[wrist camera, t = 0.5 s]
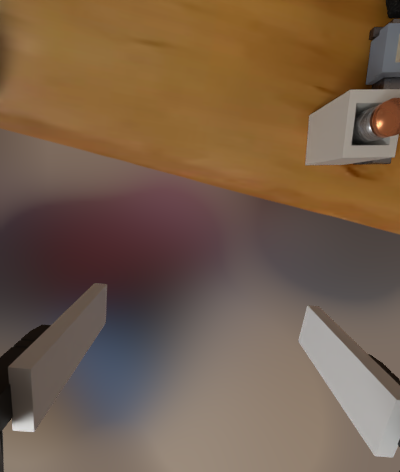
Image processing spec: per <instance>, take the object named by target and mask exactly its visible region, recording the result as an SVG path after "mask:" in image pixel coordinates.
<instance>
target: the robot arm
mask: <svg viewBox="0 0 400 472" xmlns="http://www.w3.org/2000/svg"><path fill="white" fill-rule="evenodd" d="M106 299H107V284H98V283H94V285H92V286H91V287H90V288H89V289H88V290H87V291H86V292H85V293H84V294H83V295H82V296H81V297H80V298H79V299H78V300H77V301H76V302H75V303H74V304H73V305H72V306H71V307H70V308H69V309H68V310H66V311H65V312H64V313H63V314H62V315H61V316H60V317H59V318H58V319H57V320H56V321H55V322H54V323H53V324H52V325H41V326H39V327H37V328H35V329H33V330H32V331H30V332H29V333H28V334H26V335H25V336H24V337H23V338H22V339H21V341H18V342H17V343H16V344H15V345H14V347H12V348H10V349H9V350H8V351H7V352H6V353H5V354H4V355H3V356H1V357H0V472H4V471H3V470H4V469H3V433H2V430H3V429H4V427H5V426H6V425H7V423H8V422H9V421H10V420H11V418H12V427H13V431H27V432H35V430H36V428H37V427H38V425H39V424H40V422H41V421H42V419H43V418H44V416H45V415H46V413H47V412H48V410H49V409H50V407H51V406H52V404H53V403H54V401H55V399H56V398H57V396H58V395H59V393H60V392H61V390H62V389H63V387H64V385H65V384H66V383H67V381H68V380H69V378H70V377H71V375H72V374H73V372H74V370H75V369H76V367H77V366H78V364H79V363H80V361H81V360H82V358H83V356H84V355H85V354H86V352H87V351H88V349H89V347H90V346H91V344H92V343H93V341H94V340H95V338H96V337H97V335H98V334H99V332H100V330H101V329H102V327H103V326H104V325H105V323H106ZM299 343H300V344H301V346H302V347H303V349H304V351H305V352H306V354H307V355H308V357H309V358H310V359H311V361H312V362H313V364H314V366H315V367H316V368H317V370H318V372H319V373H320V374H321V376H322V378H323V379H324V381H325V382H326V384H327V385H328V387H329V388H330V390H331V391H332V393H333V394H334V395H335V397H336V399H337V400H338V402H339V403H340V404H341V406H342V408H343V409H344V411H345V412H346V414H347V415H348V417H349V418H350V420H351V421H352V423H353V424H354V426H355V427H356V428H357V430H358V432H359V433H360V435H361V436H362V438H363V439H364V441H365V442H366V444H367V445H368V447H369V448H370V450H371V451H372V453H373V454H374V455H375V456H380V457H393V456H394V454H395V452H396V449H397V447H398V445H399V447H400V380H399V378H398V377H396V376H395V375H394V374H393V373H391V371H390V370H389V369H388V368H387V367H386V366H385V365H384V364H383V363H382V362H380V361H379V360H377V359H376V358H374V357H373V356H371V355H369V354H367V353H366V352H365V351H364V350H363V349H362V348H361V347H360V346H359V345H357V343H356V342H355V341H354V340H353V339H352V338H351V337H349V336H348V335H347V334H346V333H345V332H344V331H343V330H342V329H341V328H340V327H339V326H338V325H337V324H336V323H335V322H334V321H333V320H332V319H331V318H330V317H329V316H328V315H327V314H326V313H325V312H324V311H323V310H322V309H321V308H320V307H319V306H310V305H308V306H307V309H306V314H305V317H304V321H303V325H302V329H301V333H300V337H299ZM399 472H400V471H399Z"/></svg>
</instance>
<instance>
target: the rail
mask: <svg viewBox="0 0 400 472" xmlns="http://www.w3.org/2000/svg"><path fill="white" fill-rule="evenodd" d="M389 23H400V19H393V20H392V21H391V22H389ZM389 23H388V24H389ZM383 28H384V27H374V28H373V29H372V30H371V31H370V36H369V40H374V39H375V38H376V37H378V36H379V34H380V30H381V29H383ZM372 89H400V77H384V78H382V79H381V80H379V81H377V82H376V83H374V84H372ZM390 163H391V158H385V159H379V160H372V161H365V162H359V163H353V164H390Z"/></svg>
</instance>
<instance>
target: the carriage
mask: <svg viewBox="0 0 400 472" xmlns="http://www.w3.org/2000/svg"><path fill="white" fill-rule="evenodd" d="M384 77H400V23H389V24H387V25H386V26H385V27H384V28H383V29H381V30H380V34H379V36H378V37H376V38H375V39H374V40H373V41H372V42H371V48H370V56H369V63H368V71H367V79H366V85H372V84H374V83H376V82H377V81H379V80H381V79H382V78H384Z"/></svg>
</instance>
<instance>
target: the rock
mask: <svg viewBox="0 0 400 472" xmlns="http://www.w3.org/2000/svg"><path fill="white" fill-rule="evenodd" d="M386 6H387V10H388V12H387V14H388V17H389V18H400V0H386Z"/></svg>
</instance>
